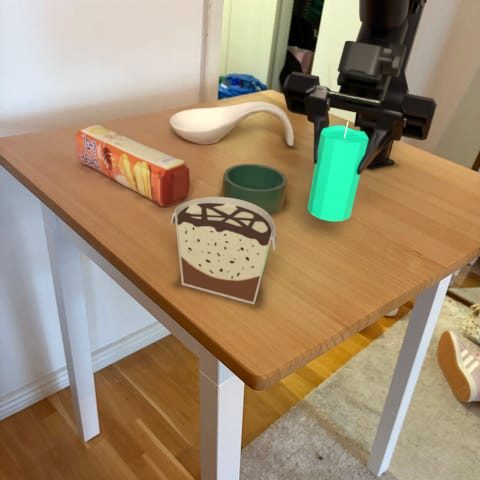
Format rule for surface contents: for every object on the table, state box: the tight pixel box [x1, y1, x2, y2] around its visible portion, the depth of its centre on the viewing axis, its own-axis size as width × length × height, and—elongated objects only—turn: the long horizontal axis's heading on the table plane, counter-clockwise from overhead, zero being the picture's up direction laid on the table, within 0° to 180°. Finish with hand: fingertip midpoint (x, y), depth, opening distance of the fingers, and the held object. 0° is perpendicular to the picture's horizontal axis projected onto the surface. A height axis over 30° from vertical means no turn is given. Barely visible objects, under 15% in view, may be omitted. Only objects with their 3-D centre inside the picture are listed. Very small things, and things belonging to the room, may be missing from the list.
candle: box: [307, 120, 369, 222], centre depth 68 cm, size 6×6×12 cm
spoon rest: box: [169, 100, 295, 147], centre depth 100 cm, size 24×12×7 cm, turn 95°
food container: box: [170, 196, 278, 306], centre depth 63 cm, size 12×6×10 cm, turn 71°
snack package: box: [75, 124, 191, 208], centre depth 83 cm, size 21×7×7 cm, turn 48°
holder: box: [221, 163, 288, 215], centre depth 82 cm, size 10×10×4 cm
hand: (336, 168), depth 66 cm, fingers closed on candle, 5 cm apart
